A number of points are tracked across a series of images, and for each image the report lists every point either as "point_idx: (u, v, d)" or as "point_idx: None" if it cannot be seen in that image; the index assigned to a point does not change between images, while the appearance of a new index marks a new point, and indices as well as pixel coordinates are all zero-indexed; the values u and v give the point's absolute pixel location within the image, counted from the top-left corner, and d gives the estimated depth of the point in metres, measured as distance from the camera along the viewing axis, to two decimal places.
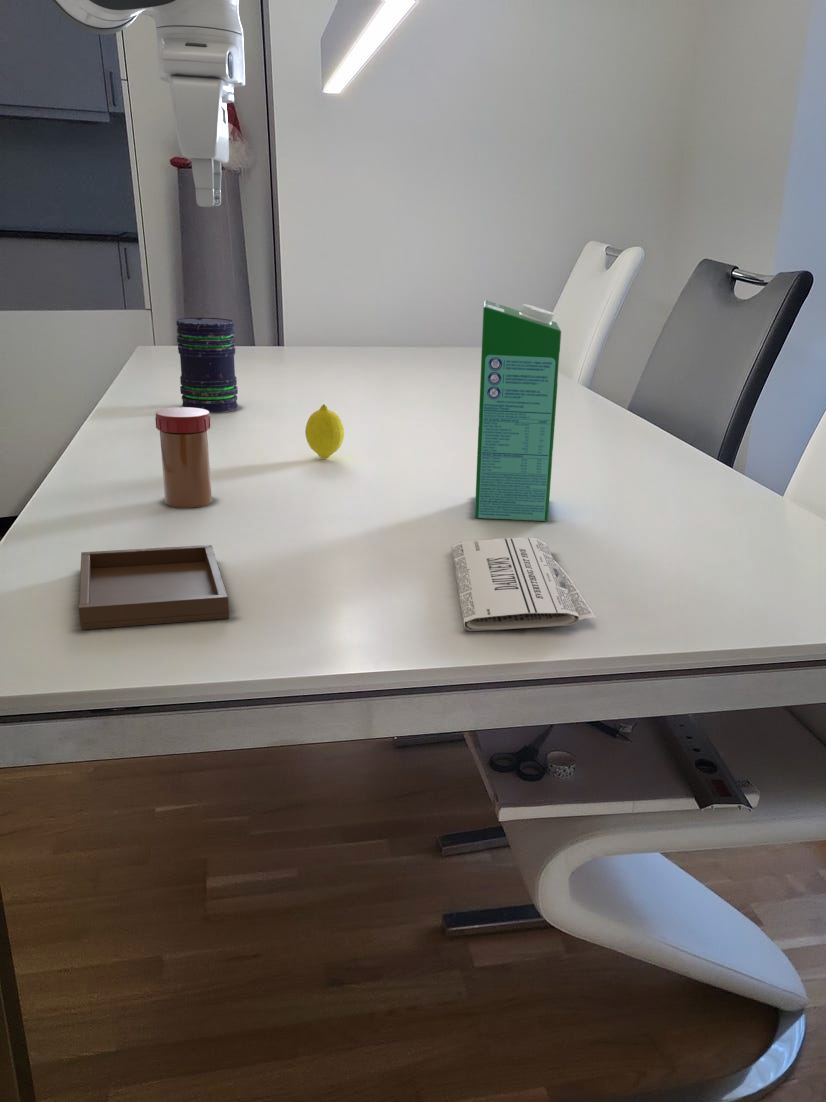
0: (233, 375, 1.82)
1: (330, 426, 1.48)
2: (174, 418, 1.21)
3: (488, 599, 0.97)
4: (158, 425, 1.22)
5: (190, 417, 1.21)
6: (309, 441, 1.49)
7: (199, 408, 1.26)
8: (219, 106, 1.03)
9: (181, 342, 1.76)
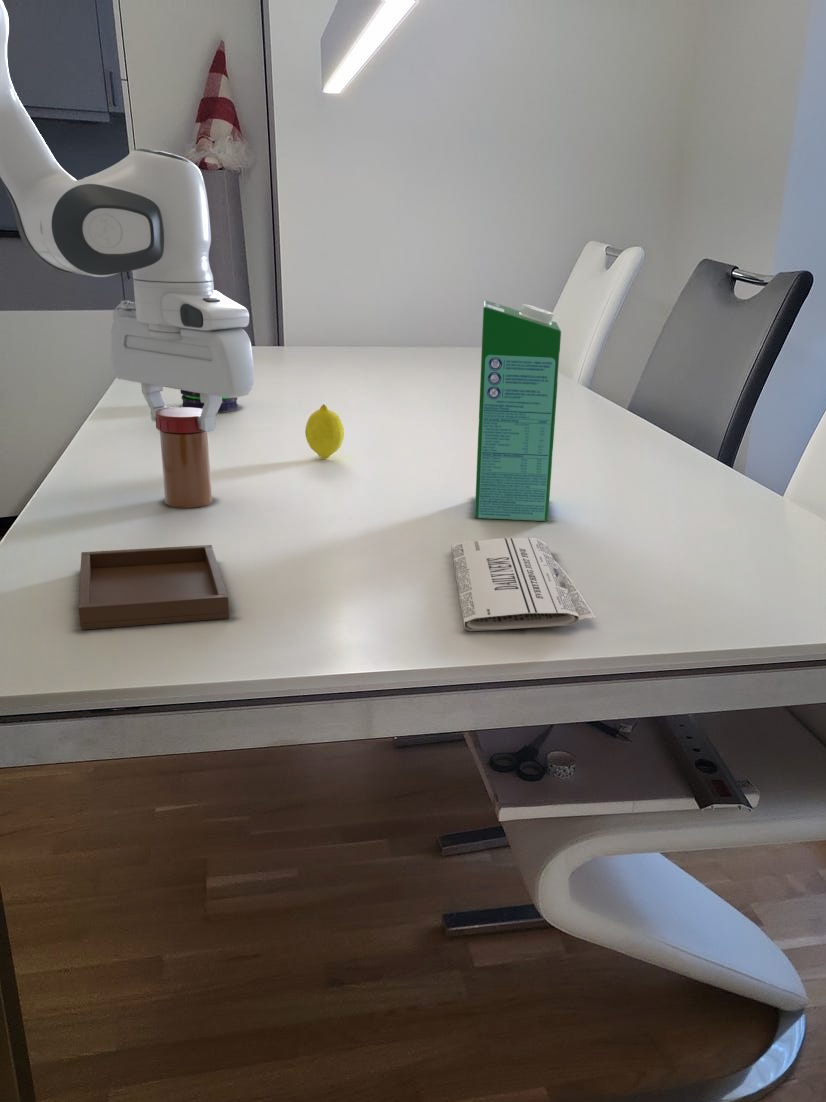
0: None
1: (330, 426, 1.48)
2: (174, 418, 1.21)
3: (488, 599, 0.97)
4: (158, 425, 1.22)
5: (190, 417, 1.21)
6: (309, 441, 1.49)
7: (199, 408, 1.26)
8: None
9: None
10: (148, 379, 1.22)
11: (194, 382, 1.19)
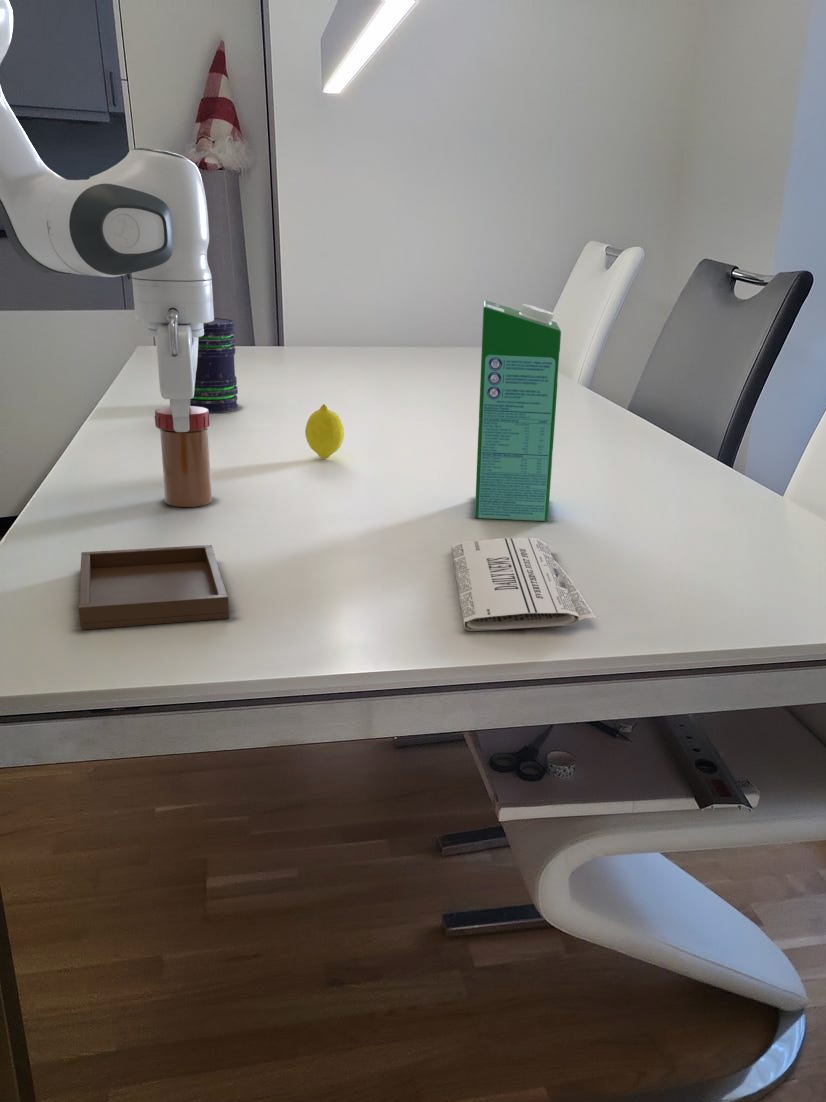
0: (233, 375, 1.82)
1: (330, 426, 1.48)
2: None
3: (488, 599, 0.97)
4: (207, 422, 1.24)
5: (193, 407, 1.27)
6: (309, 441, 1.49)
7: (156, 410, 1.23)
8: None
9: None
10: None
11: (195, 369, 1.27)
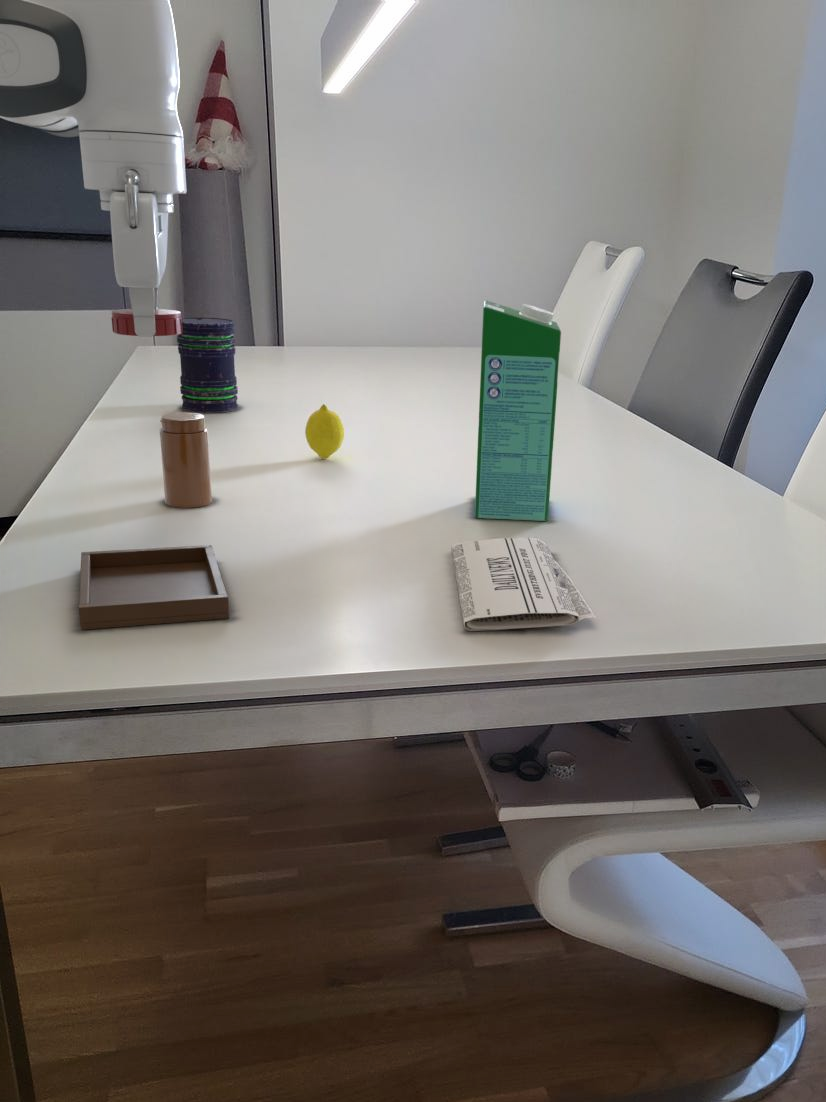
0: (233, 375, 1.82)
1: (330, 426, 1.48)
2: None
3: (488, 599, 0.97)
4: (179, 328, 0.98)
5: (162, 310, 1.00)
6: (309, 441, 1.49)
7: (113, 311, 0.96)
8: None
9: (181, 342, 1.76)
10: None
11: None
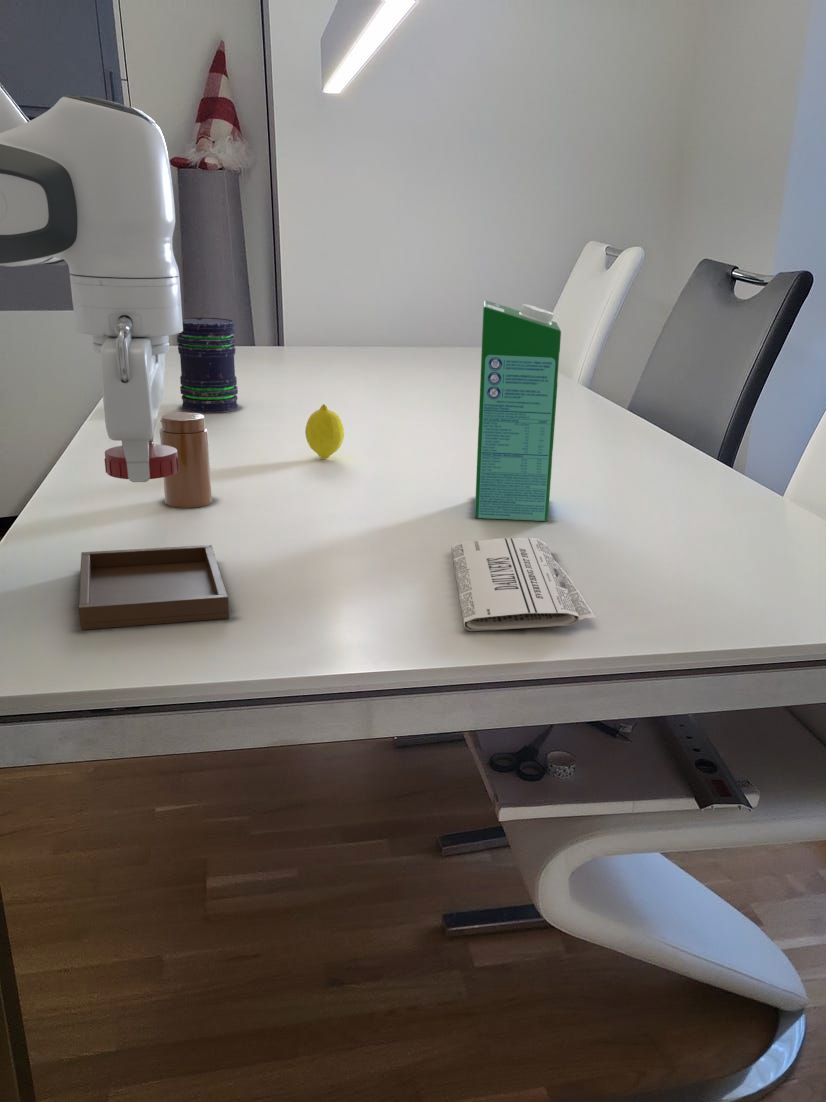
0: (233, 375, 1.82)
1: (330, 426, 1.48)
2: None
3: (488, 599, 0.97)
4: (175, 467, 0.93)
5: (158, 445, 0.96)
6: (309, 441, 1.49)
7: (106, 451, 0.92)
8: None
9: (181, 342, 1.76)
10: (156, 418, 0.89)
11: (160, 396, 0.95)
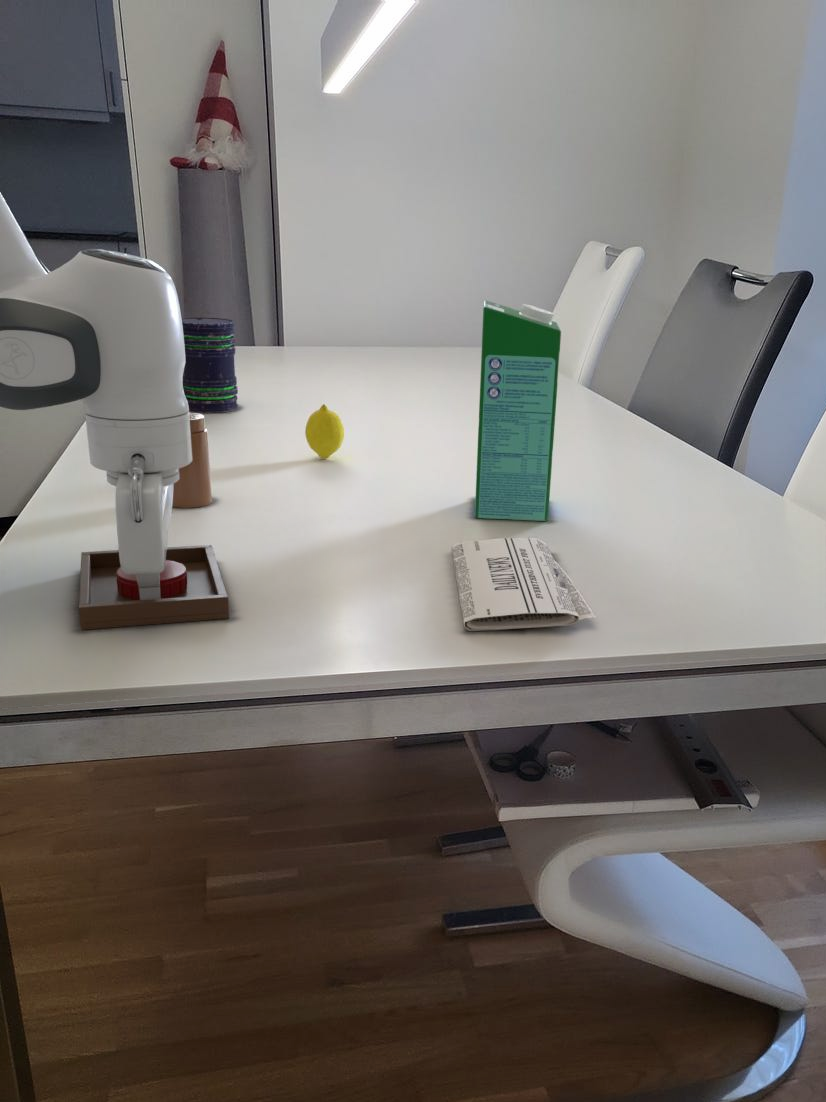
0: (233, 375, 1.82)
1: (330, 426, 1.48)
2: None
3: (488, 599, 0.97)
4: (184, 586, 0.98)
5: (167, 561, 1.00)
6: (309, 441, 1.49)
7: (118, 571, 0.96)
8: None
9: None
10: None
11: (169, 515, 1.00)
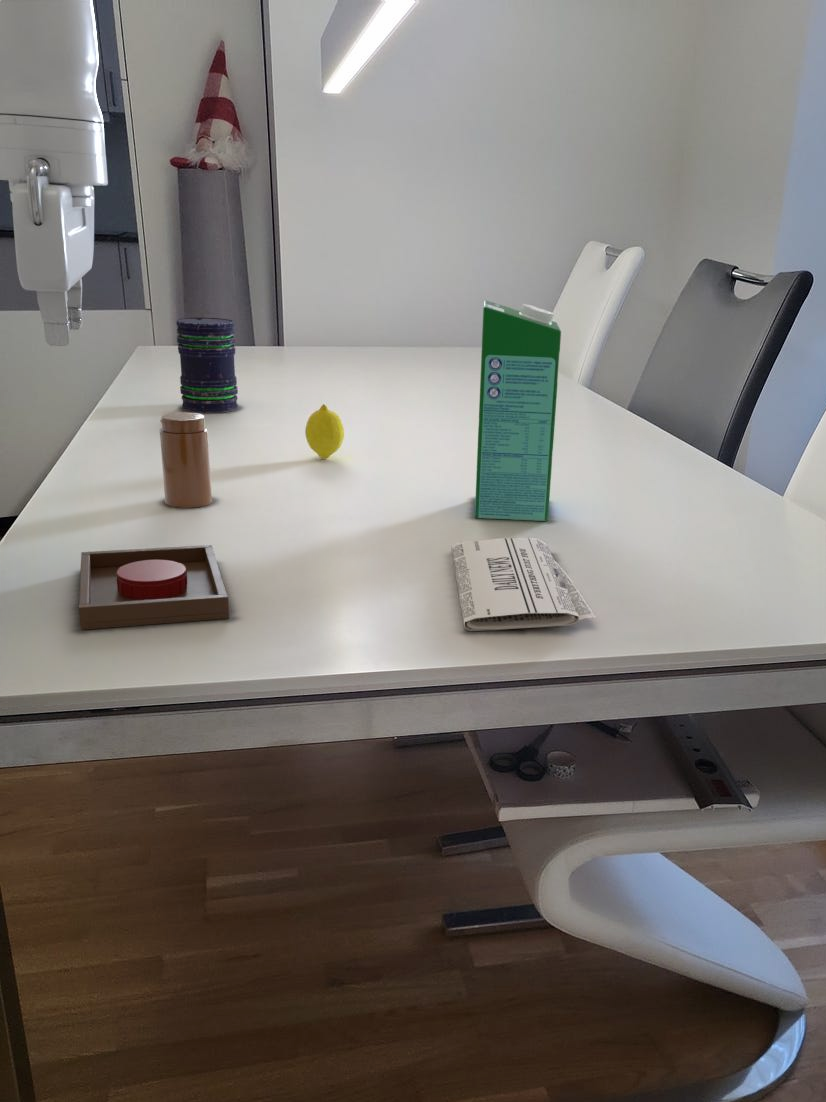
0: (233, 375, 1.82)
1: (330, 426, 1.48)
2: None
3: (488, 599, 0.97)
4: (184, 586, 0.98)
5: (167, 561, 1.00)
6: (309, 441, 1.49)
7: (118, 571, 0.96)
8: None
9: (181, 342, 1.76)
10: (77, 275, 0.84)
11: (86, 260, 0.91)
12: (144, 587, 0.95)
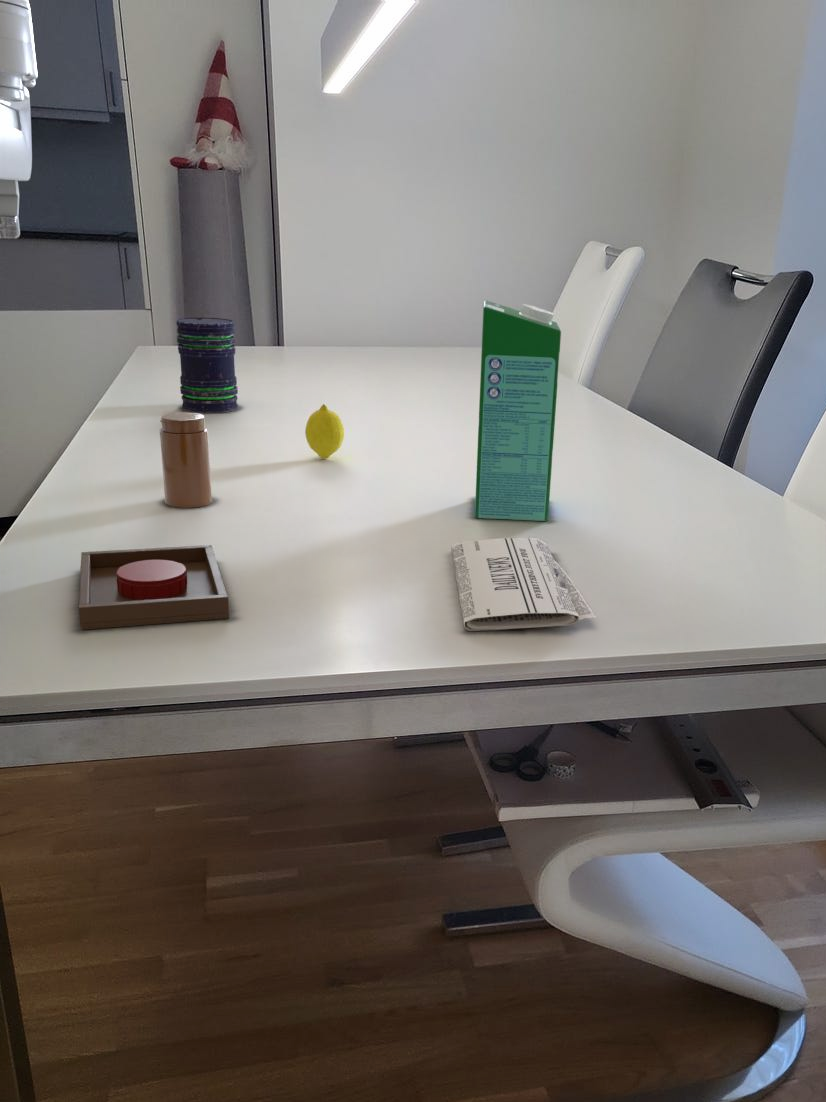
0: (233, 375, 1.82)
1: (330, 426, 1.48)
2: None
3: (488, 599, 0.97)
4: (184, 586, 0.98)
5: (167, 561, 1.00)
6: (309, 441, 1.49)
7: (118, 571, 0.96)
8: None
9: (181, 342, 1.76)
10: (6, 170, 0.81)
11: (21, 164, 0.87)
12: (144, 587, 0.95)
